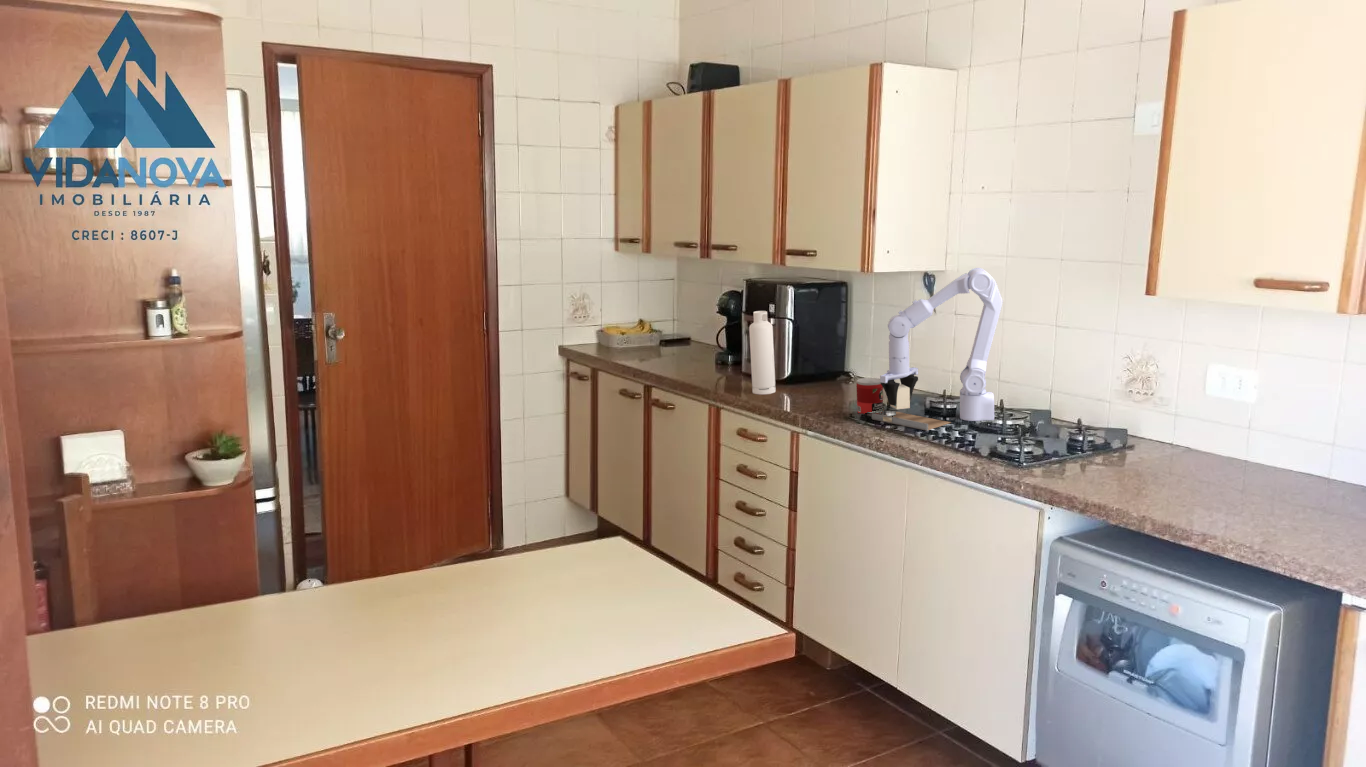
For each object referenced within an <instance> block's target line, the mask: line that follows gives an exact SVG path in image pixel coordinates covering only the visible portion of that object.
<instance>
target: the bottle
mask: <svg viewBox="0 0 1366 767" xmlns="http://www.w3.org/2000/svg"><path fill="white" fill-rule="evenodd" d="M752 313H753V322H752V323H751V324H749V330H748V331H749V346H750V347H749V348H750V351H749V352H750V368H751V369H750V370H751V389H752V394H755V395H771V394H774V393H776V370H775V350H774V326H773V324H772V323H771V322H770V321H768V310H767V311H766V310H756V311H753V312H752Z"/></svg>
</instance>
